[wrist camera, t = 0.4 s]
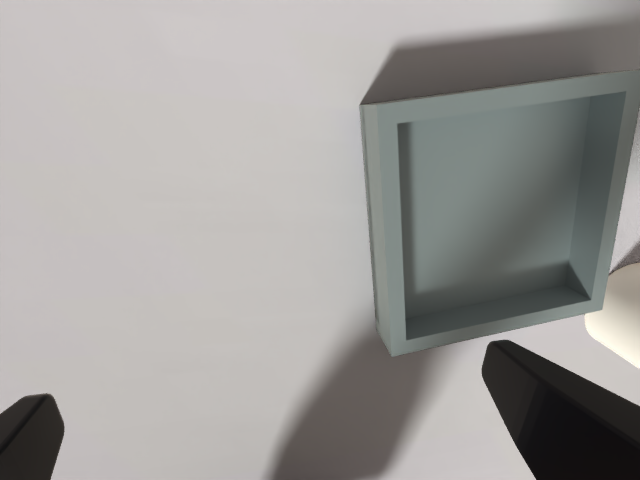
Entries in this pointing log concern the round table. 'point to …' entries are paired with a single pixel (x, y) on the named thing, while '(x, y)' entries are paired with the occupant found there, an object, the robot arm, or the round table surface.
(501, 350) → the robot arm
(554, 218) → the tray
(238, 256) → the round table surface
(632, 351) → the cylindrical container
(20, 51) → the round table surface
